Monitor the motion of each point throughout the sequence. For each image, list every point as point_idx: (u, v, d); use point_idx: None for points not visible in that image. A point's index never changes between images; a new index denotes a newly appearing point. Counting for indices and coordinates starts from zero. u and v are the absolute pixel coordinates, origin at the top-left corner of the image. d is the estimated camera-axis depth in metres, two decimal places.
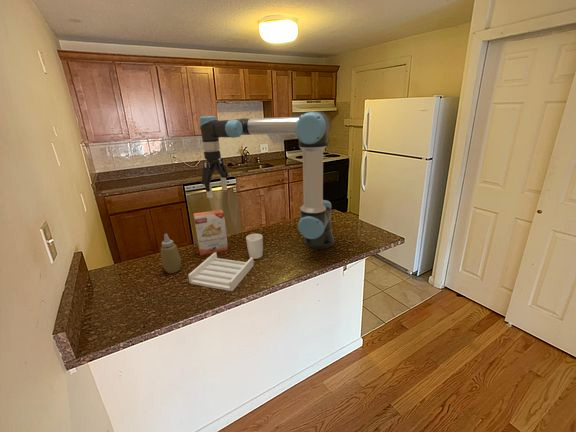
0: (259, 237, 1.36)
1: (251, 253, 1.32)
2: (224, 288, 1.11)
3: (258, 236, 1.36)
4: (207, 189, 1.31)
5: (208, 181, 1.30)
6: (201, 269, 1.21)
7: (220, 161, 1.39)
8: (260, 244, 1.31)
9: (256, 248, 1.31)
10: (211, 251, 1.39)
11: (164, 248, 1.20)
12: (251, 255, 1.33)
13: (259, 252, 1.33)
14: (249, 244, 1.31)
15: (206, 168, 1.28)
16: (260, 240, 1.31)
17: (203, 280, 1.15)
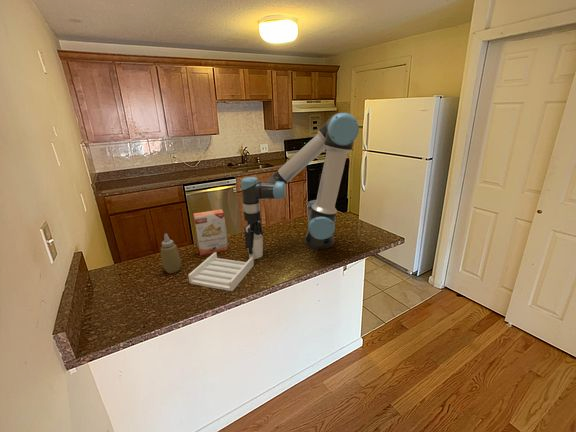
0: (259, 237, 1.36)
1: None
2: (224, 288, 1.11)
3: (258, 236, 1.36)
4: (250, 252, 1.30)
5: (251, 245, 1.28)
6: (201, 269, 1.21)
7: (258, 220, 1.35)
8: (260, 244, 1.31)
9: (256, 248, 1.31)
10: (211, 251, 1.39)
11: (164, 248, 1.20)
12: None
13: (259, 252, 1.33)
14: None
15: (248, 233, 1.25)
16: (260, 240, 1.31)
17: (203, 280, 1.15)
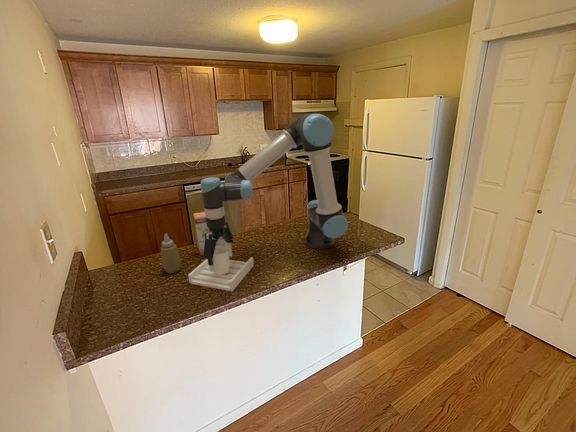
0: (225, 250, 1.20)
1: None
2: (224, 288, 1.11)
3: (224, 249, 1.20)
4: (210, 263, 1.11)
5: (211, 254, 1.10)
6: (201, 269, 1.21)
7: (224, 225, 1.19)
8: (225, 258, 1.15)
9: (220, 263, 1.15)
10: None
11: (164, 248, 1.20)
12: None
13: (224, 267, 1.16)
14: None
15: (208, 240, 1.08)
16: (225, 254, 1.15)
17: (203, 280, 1.15)
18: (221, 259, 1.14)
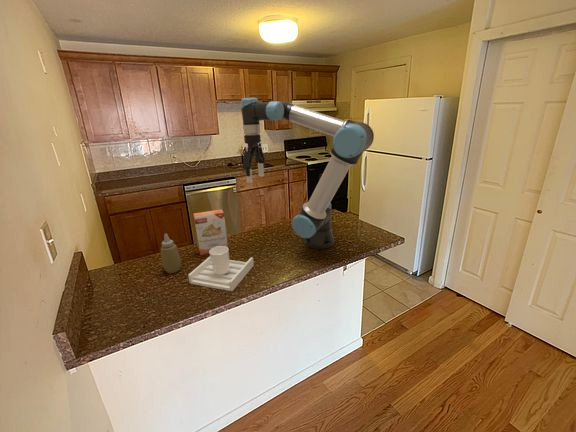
0: (225, 250, 1.20)
1: (215, 269, 1.16)
2: (224, 288, 1.11)
3: (224, 249, 1.20)
4: (248, 174, 1.27)
5: (249, 165, 1.26)
6: (201, 269, 1.21)
7: None
8: (225, 258, 1.15)
9: (220, 263, 1.15)
10: None
11: (164, 248, 1.20)
12: (215, 271, 1.17)
13: (224, 267, 1.16)
14: (212, 258, 1.14)
15: (247, 152, 1.25)
16: (225, 254, 1.15)
17: (203, 280, 1.15)
18: (221, 259, 1.14)
